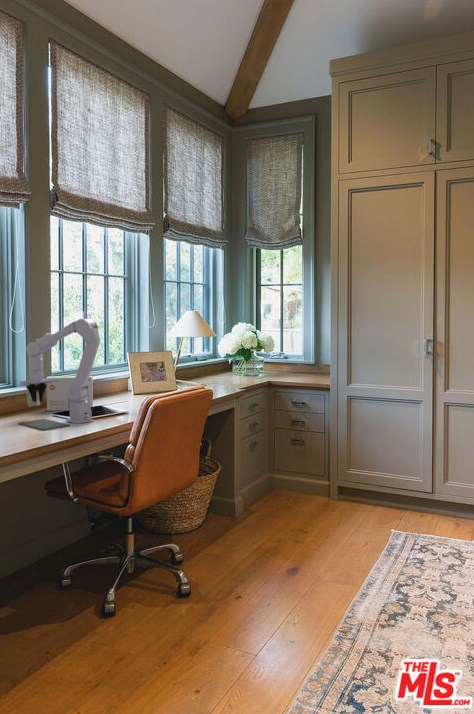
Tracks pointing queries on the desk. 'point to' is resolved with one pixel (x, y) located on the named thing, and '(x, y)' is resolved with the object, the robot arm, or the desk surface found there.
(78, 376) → the robot arm
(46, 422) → the mat
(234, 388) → the desk surface
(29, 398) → the tile
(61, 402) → the skincare box
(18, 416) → the desk surface
